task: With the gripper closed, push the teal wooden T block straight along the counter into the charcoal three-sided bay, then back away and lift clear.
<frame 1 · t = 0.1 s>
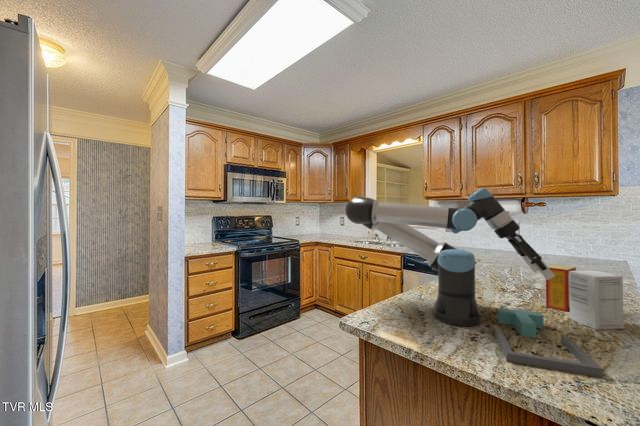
hand: (544, 273, 99), 15 cm above the counter, tool tilted 35°, fingers open, 13 cm apart
baking soda box: (561, 307, 109), on the counter
bay: (538, 350, 75), on the counter
supplement box: (595, 324, 92), on the counter
t block: (523, 329, 89), on the counter
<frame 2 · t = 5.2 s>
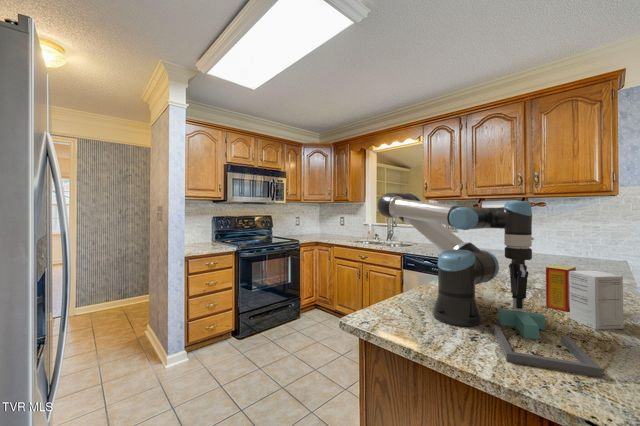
hand: (518, 316, 94), 2 cm above the counter, tool pointing down, fingers closed
t block: (524, 330, 87), on the counter, touching gripper
everything else where it was.
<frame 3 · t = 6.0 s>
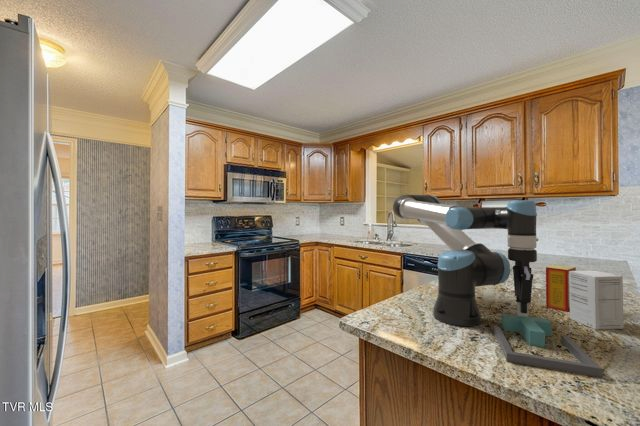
hand: (522, 321, 89), 2 cm above the counter, tool pointing down, fingers closed
t block: (530, 336, 83), on the counter, touching gripper
everything else where it was.
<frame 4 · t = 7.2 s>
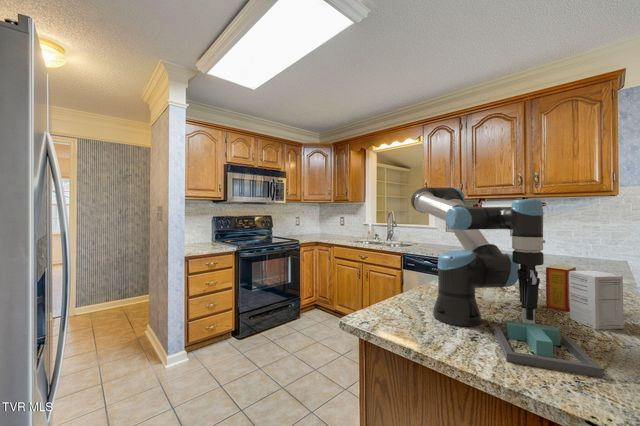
hand: (528, 329, 84), 2 cm above the counter, tool pointing down, fingers closed
t block: (536, 346, 77), on the counter, touching gripper
everything else where it was.
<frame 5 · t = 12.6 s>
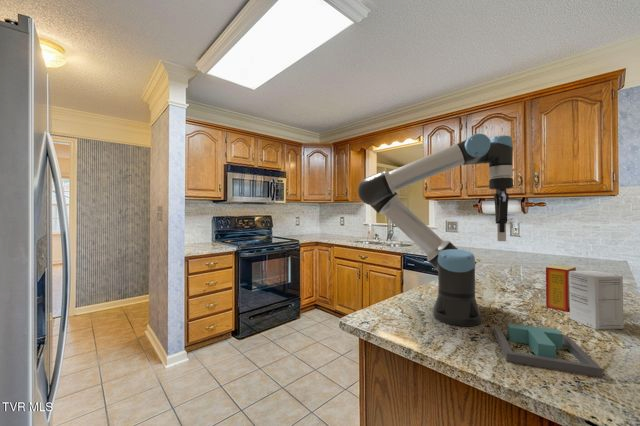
hand: (501, 240, 105), 26 cm above the counter, tool pointing down, fingers closed
t block: (538, 349, 75), on the counter
everything else where it was.
at the end: t block 0.8 cm off-centre on the bay, point 0.0 cm above the bay's base; t block tilted 0°; t block moved 14.5 cm from its start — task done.
